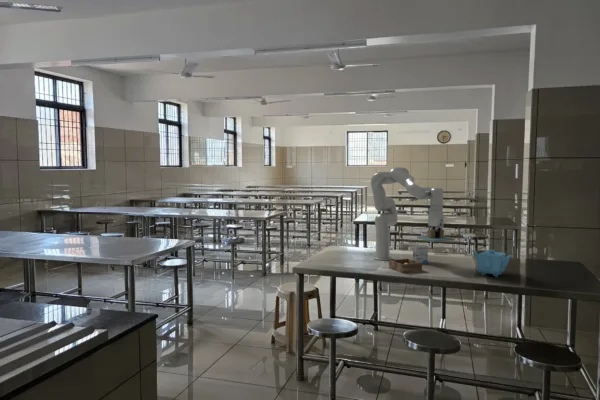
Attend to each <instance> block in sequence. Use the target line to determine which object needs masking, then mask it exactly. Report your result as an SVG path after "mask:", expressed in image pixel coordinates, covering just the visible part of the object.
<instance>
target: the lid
mask: <svg viewBox="0 0 600 400" xmlns="http://www.w3.org/2000/svg"><path fill="white" fill-rule="evenodd" d="M444 230H445V229H444V228H443V229H441V231H440V238H435V231H436V229H432V230H431V229H427V235H418V236H416V238H417V239H420V240H424V241H427V242H433V243H436V242H437V243H438V242H450V241H456V240H455V239H456V238H453V237H447V236H444V235H445V231H444Z"/></svg>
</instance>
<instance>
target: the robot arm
mask: <svg viewBox="0 0 600 400" xmlns="http://www.w3.org/2000/svg"><path fill="white" fill-rule="evenodd" d="M396 183H398V184H400V185H401V186H403V187H404V188H405V190H406V191H407V193H408V194H410V196H413V197H414V198H416V199H418V200H429V201H430V202H429V205H430V206H429V210H428V215H427V216H428V217H427V225H428V226H429V228H430V230H432V229H436V231H435V238H440V231H441V229H443V230H444V223H445V222H444V221H445V220H444V218H445V217H444V209H443V208H444V189H443V188H440V187H430V186H429V187H428V186H424V187H421V186H419V185H418V184H416V183H415V177H414V176H413V175H411V174H410V172H409V169H408V168H406V167H401V166H399V167H397V166H396V167H393V168H391V169H390V171H378V172H376V173H374V174H373V175H372V176H371V178H370V188H371V191H372V196H373V202H374V208H375V210H376V212H382V213H378V214H377V215H376V216H375V218H374V225H375V251H373V254H374V255H373V257H372V258H373V259H374V260H375V261H376V260H377V261H389V260H393V257H392V256H390V252H391V251H390V249H391V248H390V247H391V232H390V227H393V226H395V225H397V223H398V213H397V207H396V206H397V205H396V202H395V200H394V199H393V198H392V197H389V196H387V195H386V190H385V188H384V186H383V185H393V184H396Z"/></svg>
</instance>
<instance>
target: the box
mask: <svg viewBox="0 0 600 400" xmlns="http://www.w3.org/2000/svg"><path fill="white" fill-rule="evenodd" d="M404 263H408V264H404ZM388 269H390V270H393V271H395V272H398V273H401V274H409V273H419V272H422V271H423V263H420V262H417V261H414V260H413V259H411V258H400V259H399V258H398V259H391V260H388Z"/></svg>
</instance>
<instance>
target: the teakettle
mask: <svg viewBox="0 0 600 400" xmlns="http://www.w3.org/2000/svg"><path fill="white" fill-rule="evenodd" d="M470 251H471V252H472V253H473V255H474V256H475V261H476V263H477V269H476V270H477V273H480V276H486V275H487V274H489V275H492V277H493V276H495V277H494V278H499V276H501V275H503V273H504V272H505V271H506V267H507V266H508V264H509V261H510V259H511V258H512V257H514V255H512V254H509V255H507V253H505V252H499V251H496V250H495V249H489V250H485V251H482V252H480V253H478V252H477V250H472V249H471V250H470Z"/></svg>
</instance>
